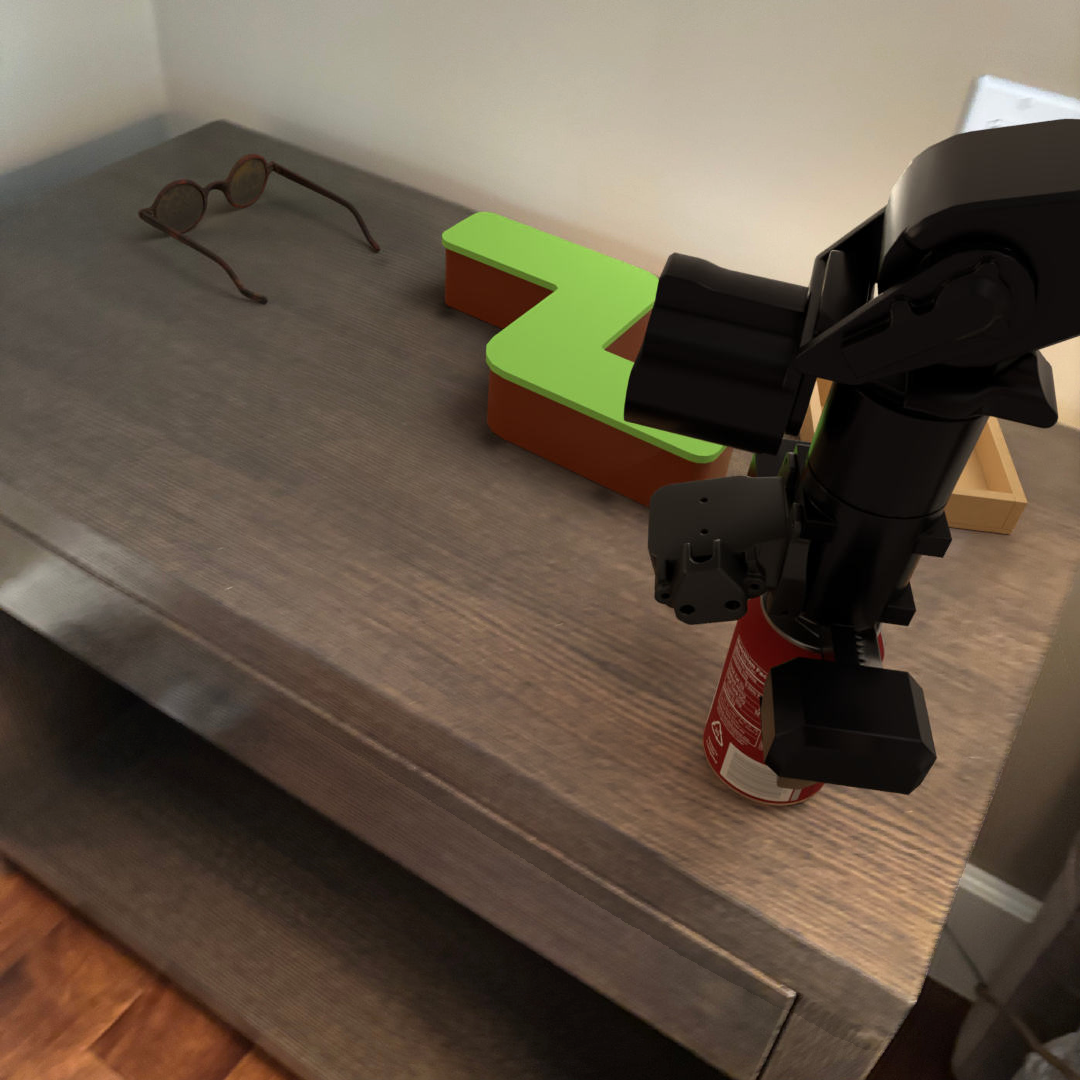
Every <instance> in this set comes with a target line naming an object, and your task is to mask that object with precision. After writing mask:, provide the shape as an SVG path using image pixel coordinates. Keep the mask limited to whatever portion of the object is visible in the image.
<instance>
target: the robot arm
mask: <svg viewBox="0 0 1080 1080" xmlns="http://www.w3.org/2000/svg"><path fill="white" fill-rule="evenodd" d="M658 279H659V281H658V286H657V292H656V297H655V302H654V305H653V308H652V312H651V315H650V318H649V322H648V325H647V329H646V332H645V336H644V340H643V343H642V345H641V348H640V350H639V353H638V355H637V357H636V360H635V362H634V365H633V367H632V369H631V372H630V376H629V380H628V386H627V391H626V397H625V404H624V421H626V422H630V423H634V424H638V425H642V426H646V427H650V428H654V429H658V430H662V431H666V432H670V433H674V434H678V435H682V436H686V437H690V438H694V439H698V440H702V441H706V442H710V443H714V444H718V445H722V446H726V447H730V448H733V450H739V451H743V452H746V453H750V454H752V457H751V460H750V464H749V467H748V470H747V473H746V475H742V474H739V475H738V474H737V475H730V476H729V475H728V476H726V477H721V478H714V479H706V480H698V481H691V482H683V483H676V484H669V485H666V486H663V487H661V488H659V489H658V490H656V491H655V492H654V493H653V495H652V496H651V498H650V503H649V507H648V525H647V526H648V528H647V551H648V553H649V554H648V555H649V558H650V562H651V565H652V566H651V567H652V570H653V575H654V590H653V591H654V592H653V598H654V600H655V602H657V603H658V604H661V605H664V606H666V607H668V608H670V609H673V612H674V615H675V618H676V620H678V621H679V622H681V623H683V624H686V625H689V626H696V625H705V624H706V625H707V624H715V623H716V624H717V623H726V622H737V620H739V619H741V618H742V617H743V616H744V615H745V614H746V613H747V611H748V606H747V601H748V600H749V599H753V598H756V597H759V596H761V595H763V594H764V593H765V592H766V591H769V594H768V597H767V599H766V602H767V615H770V616H777V617H784V618H792V619H796V618H798V617H799V615H800V613H801V614H802V616H803V617H804V618H806V619H808V620H810V621H812V622H814V623H816V624H817V627H818V636H819V644H820V653H821V660H819V659H812V658H805V657H797V658H794V659H792V660H789V661H787V662H784V663H782V664H779V665H777V666H774V667H772V668H770V671H769V673H768V676H767V678H766V681H765V684H764V690H763V696H760V697H759V701H760V718H761V734H762V744H763V754H764V763H765V764H766V765H767V766H768V767H769V768H770V769H771V770H772V771H773V772H774V773H775V774H777V777H776V781H777V786H778V787H780V788H786V789H794V790H800V789H802V788H805V787H808V786H810V785H813V784H816V783H818V782H819V783H825V785H826V784H828V785H835V786H841V787H849V788H855V789H864V790H870V791H875V792H876V791H877V792H884V793H892V794H897V795H905V796H910V795H911V794H912V793H913V792H914V791H915V790H916V789H918V788H919V787H920V786H921V785H922V783H923V781H924V780H925V778H926V777H927V775H928V774H929V772H930V771H931V769H932V767H933V766H934V764H935V763H936V761H937V759H938V755H937V751H936V747H935V742H934V736H933V732H932V728H931V722H930V718H929V712H928V708H927V703H926V702H927V701H926V697H925V693H924V689H923V687H922V686H921V685H920V684H919V683H918V682H917V680H916V679H915V678H914V677H913V676H912V674H911V673H910V672H909V671H907V670H906V671H904V670H899V669H898V670H897V669H890V668H885V667H883V662H882V660H881V654H880V648H879V642H878V637H877V631H876V623H877V622H880V623H883V624H886V625H896V626H901V627H909V626H910V624H911V621H912V620H913V618H914V616H915V614H916V613H917V608H916V602H915V598H914V594H913V589H912V584H911V579H912V576H913V575H914V573H915V570H916V568H917V566H918V565H919V562H920V560H921V558H922V556H926V557H933V558H941V559H944V557H945V556H946V553H947V551H948V549H949V548H950V546H951V543H952V541H953V537H952V533H951V530H950V527H949V525H948V522H947V518H946V514H945V511H944V509H945V507H946V505H947V503H948V501H949V499H950V496H951V494H952V492H953V490H954V488H955V486H956V484H957V482H958V480H959V478H960V476H961V474H962V472H963V470H964V468H965V466H966V464H967V462H968V460H969V458H970V455H971V453H972V451H973V449H974V447H975V445H976V443H977V441H978V439H979V437H980V435H981V433H982V431H983V429H984V427H985V425H986V423H987V421H988V419H989V417H996V418H997V419H1001V420H1004V421H1009V422H1013V423H1017V424H1021V425H1025V426H1029V427H1030V426H1031V427H1035V428H1039V429H1045V430H1046V429H1050V428H1052V427H1054V426H1055V425H1056V424H1057V423H1058V421H1059V410H1058V403H1057V395H1056V386H1055V379H1054V373H1053V367H1052V365H1051V363H1050V362H1049V361H1048V360H1047V359H1046V357H1045V356H1044V355H1043V353H1042V352H1041V351H1040V350H1044V349H1045V348H1048V347H1051V346H1055V345H1057V344H1061V343H1063V342H1066V341H1070V340H1072V339H1076V338H1078V337H1080V118H1059V119H1051V120H1044V121H1043V120H1042V121H1036V122H1030V123H1021V124H1014V125H1007V126H1000V127H999V126H998V127H992V128H991V127H990V128H986V129H977V130H970V131H967V132H966V131H965V132H961V133H957V134H953V135H951V136H949V137H947V138H944V139H942V140H939V141H938V142H936V143H934V144H931V145H930V146H926V148H925V149H923V150H922V151H921V152H919V153H917V155H915V156H914V157H913V158H912V159H911V160H910V162H909V165H908V166H907V167H906V168H905V169H904V171H903V173H902V174H901V176H900V177H899V179H898V180H897V181H896V183H895V184H894V186H893V187H892V189H891V191H890V194H889V197H888V201H887V203H886V204H885V205H883V206H882V207H880V208H879V209H878V210H877V211H876V212H874V213H873V214H872V215H870V216H869V217H867V218H866V219H864V220H863V221H862V222H860V223H859V224H858V225H856V226H855V227H853V228H852V229H851V230H850V231H848V232H847V233H845V234H844V235H843V236H841V237H840V238H839V239H837V240H835V242H833V243H832V244H830V245H829V246H828V247H826V248H825V249H824V250H822V251H821V252H820V253H818V254H817V255H816V256H815V257H814V260H813V266H812V270H811V275H810V279H809V282H808V286H807V285H801V284H798V283H792V282H787V281H784V280H778V279H774V278H769V277H766V276H760V275H758V274H752V273H748V272H744V271H738V270H734V269H730V268H727V267H723V266H720V265H718V264H716V263H714V262H712V261H711V260H707V259H706V258H702V257H698V256H694V255H689V254H685V253H681V252H673V253H671V254H669V255H668V257H667V260H666V262H665V264H664V266H663V268H662V271H661V273H660V276H659V278H658ZM876 287H877V296H875V290H876ZM817 378H821V379H825V380H829V381H833V382H832V385H831V387H830V390H829V393H828V396H827V399H826V402H825V405H824V408H823V411H822V414H821V416H820V419H819V422H818V425H817V428H816V431H815V434H814V437H813V440H812V442H807V441H801V440H798V439H792V438H791V439H790V438H784V435H787V436H790V437H796V438H798V436H799V435H800V430H801V427H802V424H803V422H804V419H805V416H806V413H807V409H808V406H809V403H810V400H811V396H812V393H813V390H814V386H815V383H816V380H817Z"/></svg>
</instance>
